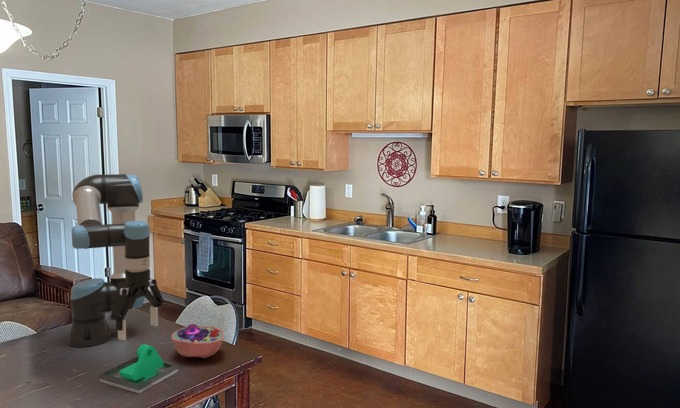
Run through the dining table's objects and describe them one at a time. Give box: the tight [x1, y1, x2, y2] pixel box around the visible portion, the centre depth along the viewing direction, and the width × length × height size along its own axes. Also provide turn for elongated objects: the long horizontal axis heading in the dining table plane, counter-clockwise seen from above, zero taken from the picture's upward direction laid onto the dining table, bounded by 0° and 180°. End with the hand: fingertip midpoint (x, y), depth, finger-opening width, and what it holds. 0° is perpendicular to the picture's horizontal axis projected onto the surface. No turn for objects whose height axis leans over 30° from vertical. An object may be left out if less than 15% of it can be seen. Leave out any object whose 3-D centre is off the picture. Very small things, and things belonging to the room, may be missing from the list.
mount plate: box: [99, 355, 179, 395], centre depth 164 cm, size 17×17×2 cm
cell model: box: [170, 323, 224, 359], centre depth 181 cm, size 17×20×11 cm
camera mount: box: [120, 343, 164, 381], centre depth 163 cm, size 12×8×10 cm, turn 155°
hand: (138, 332), depth 163 cm, fingers open, 13 cm apart
